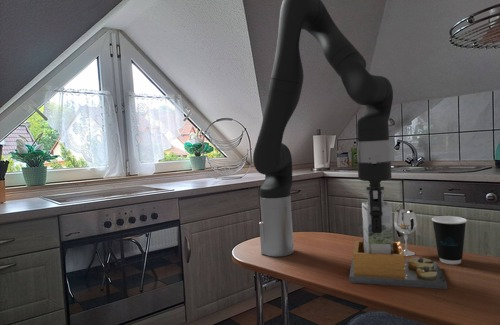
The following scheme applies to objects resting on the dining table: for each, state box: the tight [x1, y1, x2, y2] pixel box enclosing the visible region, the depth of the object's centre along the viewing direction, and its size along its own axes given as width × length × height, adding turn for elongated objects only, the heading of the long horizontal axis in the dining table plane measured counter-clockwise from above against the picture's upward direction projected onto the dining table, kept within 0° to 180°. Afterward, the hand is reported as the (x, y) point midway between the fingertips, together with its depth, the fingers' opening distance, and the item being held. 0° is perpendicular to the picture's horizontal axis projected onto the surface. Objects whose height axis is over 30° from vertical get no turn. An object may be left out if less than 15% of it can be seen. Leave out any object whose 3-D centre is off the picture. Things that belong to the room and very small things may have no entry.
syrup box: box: [361, 200, 394, 254], centre depth 85 cm, size 6×6×14 cm
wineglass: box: [393, 208, 417, 257], centre depth 99 cm, size 6×6×12 cm
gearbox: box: [348, 240, 448, 290], centre depth 85 cm, size 20×13×6 cm, turn 71°
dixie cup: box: [431, 215, 468, 265], centre depth 91 cm, size 8×8×11 cm
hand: (376, 228), depth 85 cm, fingers closed on syrup box, 6 cm apart
